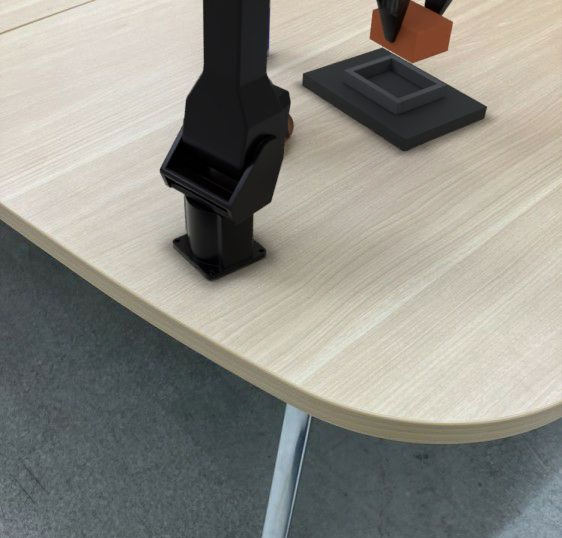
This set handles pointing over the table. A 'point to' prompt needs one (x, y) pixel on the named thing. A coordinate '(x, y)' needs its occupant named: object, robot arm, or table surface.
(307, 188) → the table surface
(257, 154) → the robot arm
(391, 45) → the reddish brown rectangular block
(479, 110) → the black base pad
